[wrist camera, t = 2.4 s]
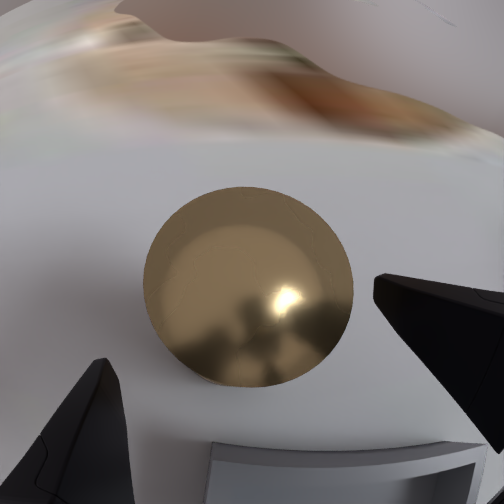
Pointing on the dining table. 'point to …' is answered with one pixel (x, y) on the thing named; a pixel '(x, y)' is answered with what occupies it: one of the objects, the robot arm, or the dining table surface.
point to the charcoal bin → (346, 475)
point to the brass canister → (248, 287)
